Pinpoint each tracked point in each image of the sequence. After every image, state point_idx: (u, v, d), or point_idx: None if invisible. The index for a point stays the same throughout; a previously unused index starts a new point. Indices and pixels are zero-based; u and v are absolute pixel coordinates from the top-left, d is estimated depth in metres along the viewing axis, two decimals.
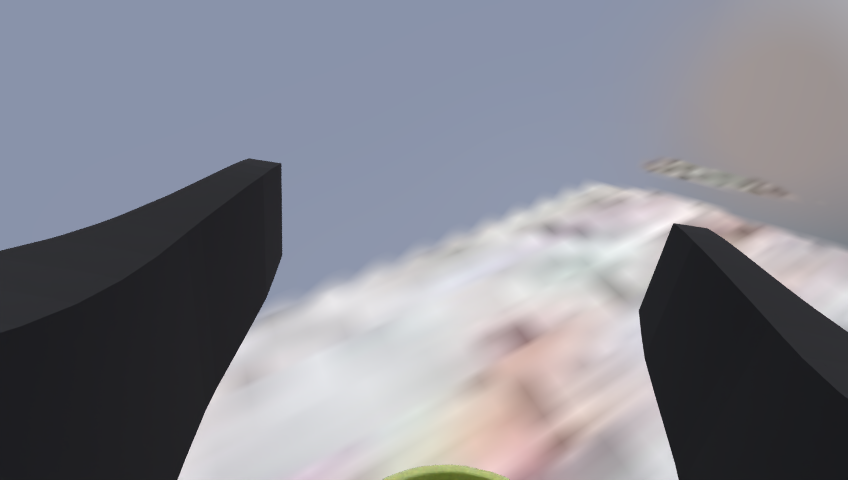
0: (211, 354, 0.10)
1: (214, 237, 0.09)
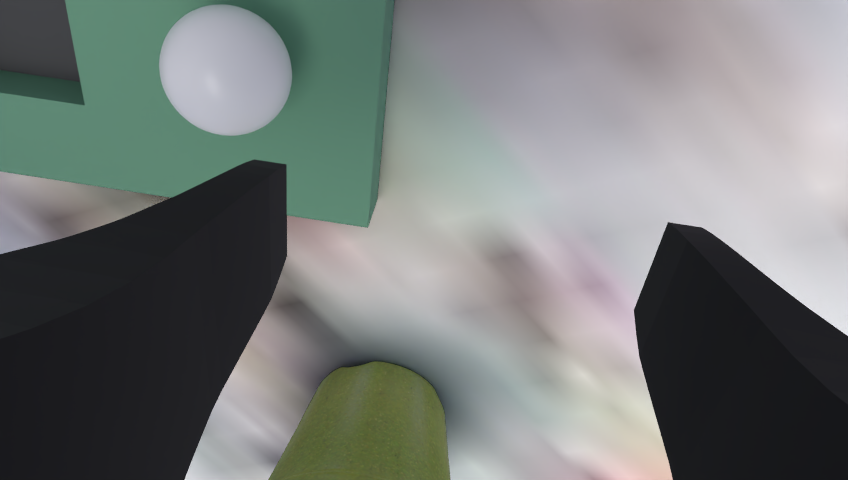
0: (217, 355, 0.10)
1: (221, 237, 0.09)
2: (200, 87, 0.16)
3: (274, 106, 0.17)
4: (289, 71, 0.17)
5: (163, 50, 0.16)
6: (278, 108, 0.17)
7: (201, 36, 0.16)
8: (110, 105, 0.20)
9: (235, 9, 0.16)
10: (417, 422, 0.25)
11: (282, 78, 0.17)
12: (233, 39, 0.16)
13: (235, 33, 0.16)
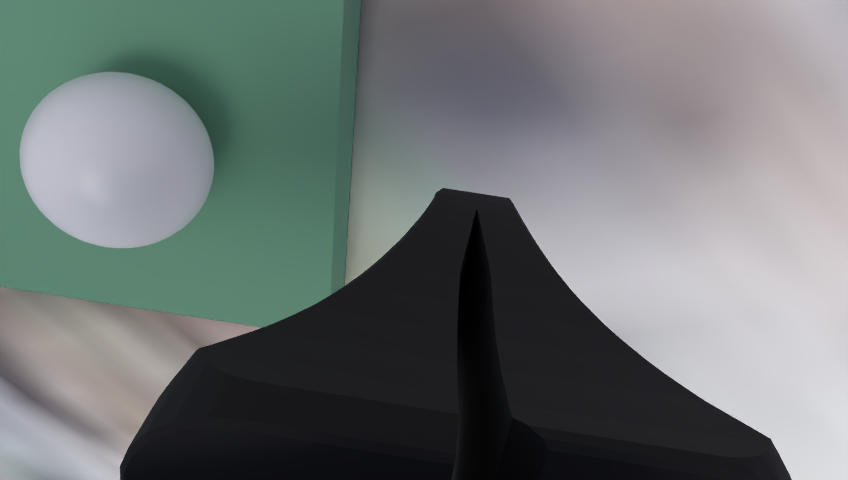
0: None
1: (460, 275, 0.09)
2: (69, 196, 0.11)
3: (185, 211, 0.12)
4: (207, 161, 0.13)
5: (21, 140, 0.12)
6: (192, 212, 0.13)
7: (69, 124, 0.11)
8: None
9: (125, 81, 0.12)
10: None
11: (195, 174, 0.12)
12: (116, 128, 0.11)
13: (120, 119, 0.11)
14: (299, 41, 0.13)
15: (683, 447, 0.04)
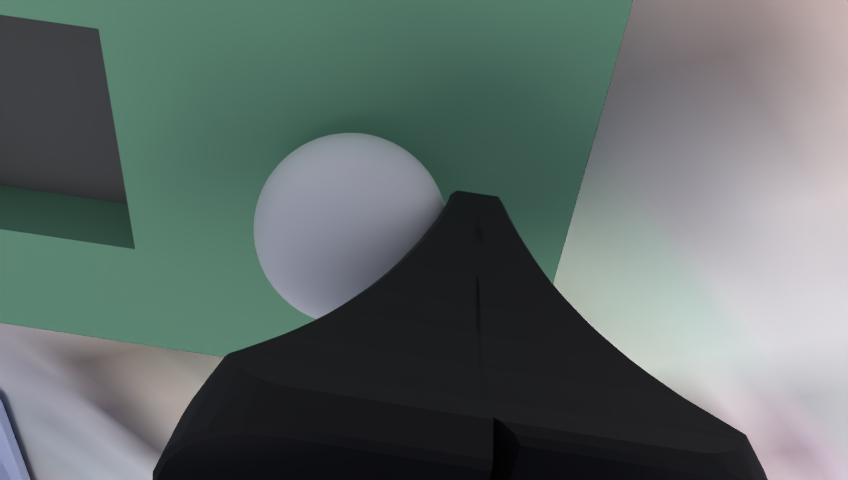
0: None
1: None
2: (314, 274, 0.10)
3: None
4: None
5: (262, 206, 0.11)
6: None
7: (322, 195, 0.10)
8: (171, 250, 0.14)
9: (375, 146, 0.11)
10: None
11: None
12: (372, 201, 0.10)
13: (375, 191, 0.10)
14: (556, 100, 0.12)
15: (655, 444, 0.04)
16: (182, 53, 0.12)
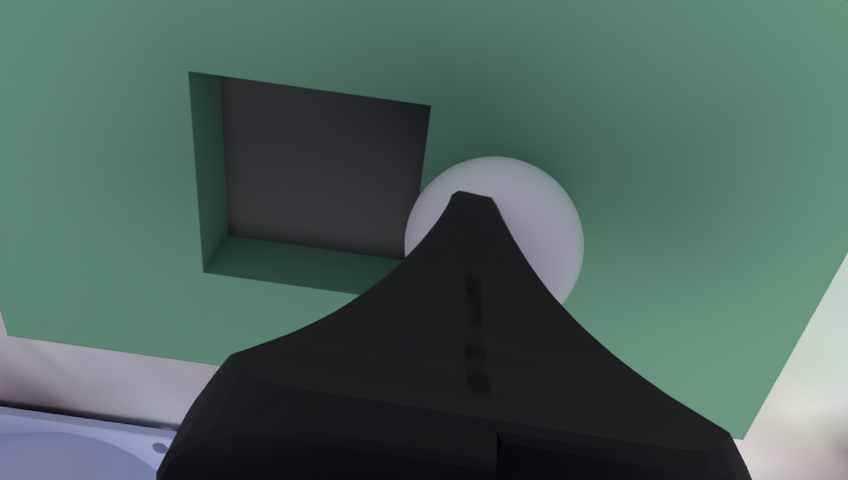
0: None
1: None
2: None
3: None
4: None
5: None
6: None
7: None
8: None
9: (521, 174, 0.11)
10: None
11: None
12: (461, 166, 0.12)
13: (469, 166, 0.12)
14: None
15: (638, 440, 0.05)
16: (505, 127, 0.13)
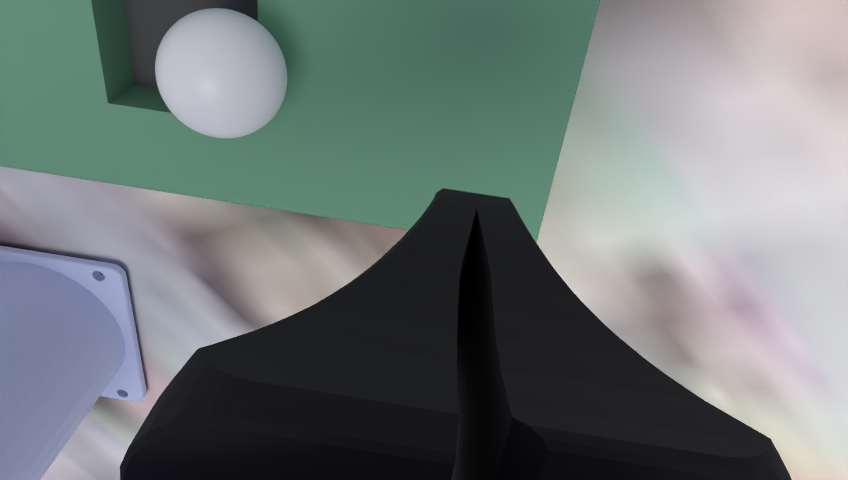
0: None
1: (460, 275, 0.09)
2: None
3: None
4: None
5: (277, 44, 0.17)
6: None
7: None
8: (287, 127, 0.20)
9: (199, 11, 0.17)
10: None
11: None
12: None
13: None
14: (564, 9, 0.17)
15: (683, 447, 0.04)
16: None
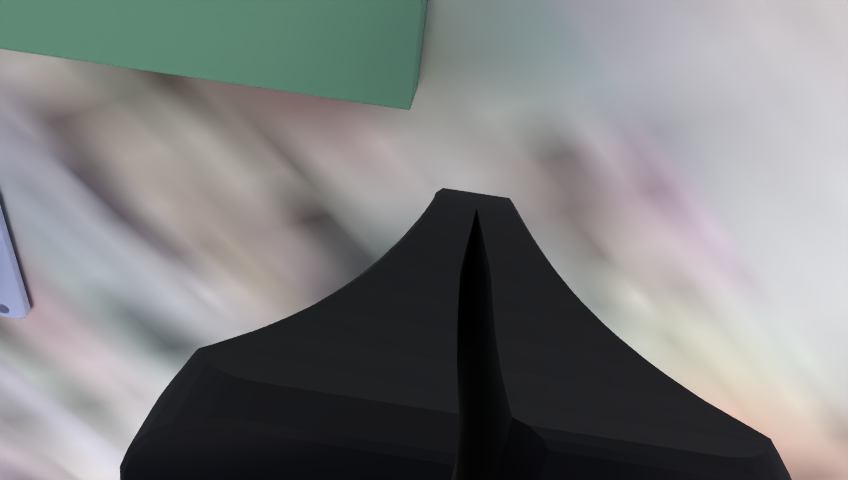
0: None
1: (460, 275, 0.09)
2: None
3: None
4: None
5: None
6: None
7: None
8: None
9: None
10: None
11: None
12: None
13: None
14: None
15: (683, 447, 0.04)
16: None
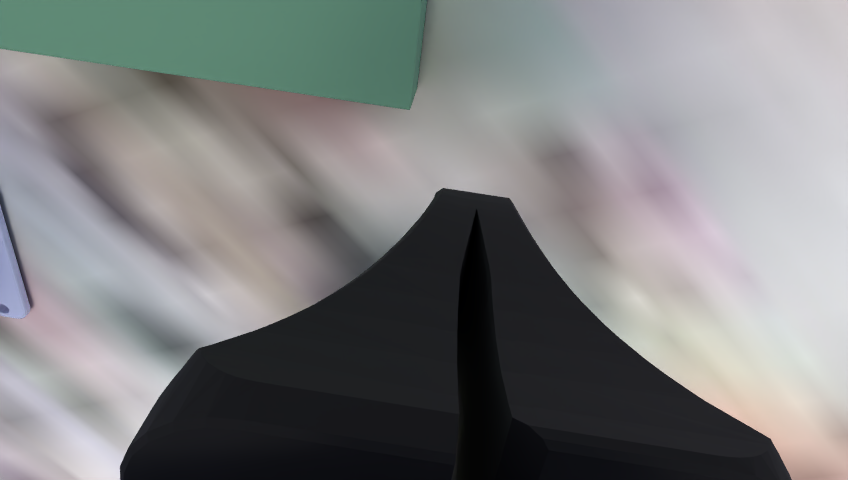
0: None
1: (460, 275, 0.09)
2: None
3: None
4: None
5: None
6: None
7: None
8: None
9: None
10: None
11: None
12: None
13: None
14: None
15: (683, 447, 0.04)
16: None
